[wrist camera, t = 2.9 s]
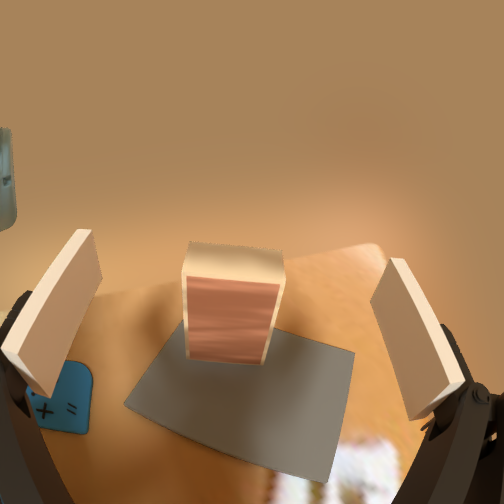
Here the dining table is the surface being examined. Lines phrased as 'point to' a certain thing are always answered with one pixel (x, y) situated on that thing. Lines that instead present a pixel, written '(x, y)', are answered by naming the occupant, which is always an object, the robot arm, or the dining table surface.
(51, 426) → the handheld gaming device
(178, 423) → the mat
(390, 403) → the dining table surface
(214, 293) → the birch board
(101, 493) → the dining table surface
